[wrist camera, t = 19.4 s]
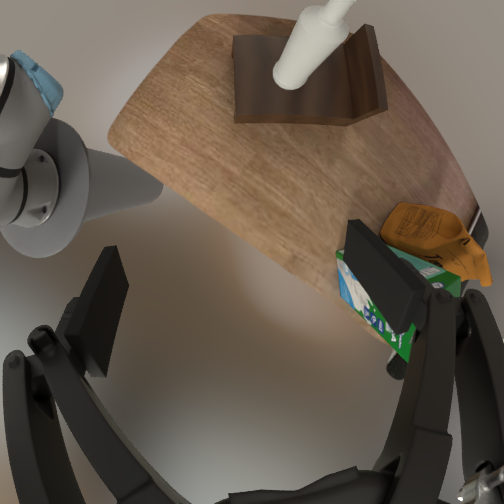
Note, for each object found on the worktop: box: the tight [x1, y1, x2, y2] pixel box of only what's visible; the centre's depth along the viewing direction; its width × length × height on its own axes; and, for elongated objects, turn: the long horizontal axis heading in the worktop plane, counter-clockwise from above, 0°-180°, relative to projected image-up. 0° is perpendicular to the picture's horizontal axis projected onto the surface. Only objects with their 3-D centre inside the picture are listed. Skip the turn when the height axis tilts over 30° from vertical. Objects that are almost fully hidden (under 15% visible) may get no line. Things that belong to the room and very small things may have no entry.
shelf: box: [232, 24, 388, 126], centre depth 35 cm, size 20×14×14 cm
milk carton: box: [336, 244, 461, 363], centre depth 38 cm, size 9×9×25 cm
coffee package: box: [380, 202, 493, 287], centre depth 39 cm, size 10×12×22 cm
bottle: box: [273, 0, 357, 90], centre depth 24 cm, size 5×5×25 cm
